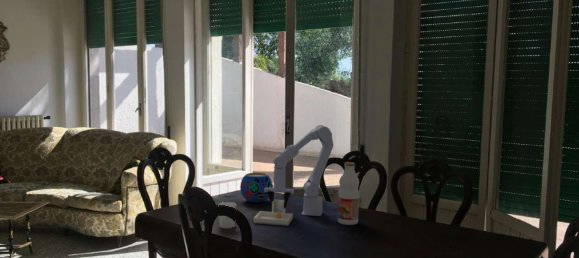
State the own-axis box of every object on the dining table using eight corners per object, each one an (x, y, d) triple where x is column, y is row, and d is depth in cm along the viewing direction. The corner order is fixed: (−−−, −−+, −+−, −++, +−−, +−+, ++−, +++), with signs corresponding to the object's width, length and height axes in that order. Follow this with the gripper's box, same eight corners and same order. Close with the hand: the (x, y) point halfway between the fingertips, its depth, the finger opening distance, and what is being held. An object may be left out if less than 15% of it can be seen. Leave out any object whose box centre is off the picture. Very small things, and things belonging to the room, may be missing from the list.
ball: (280, 212, 215) (278, 218, 214) (283, 214, 217) (282, 220, 216) (275, 211, 216) (273, 218, 215) (278, 213, 219) (276, 220, 218)
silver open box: (285, 212, 230) (285, 200, 230) (283, 214, 225) (283, 202, 224) (274, 211, 231) (274, 199, 231) (271, 213, 226) (272, 201, 225)
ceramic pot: (248, 207, 241) (248, 178, 240) (235, 199, 256) (235, 172, 255) (278, 203, 249) (278, 176, 248) (263, 196, 265) (264, 170, 264)
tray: (292, 218, 220) (292, 213, 220) (288, 225, 209) (288, 220, 208) (259, 216, 223) (259, 211, 223) (253, 223, 211) (253, 217, 211)
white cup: (237, 224, 209) (238, 202, 209) (234, 229, 202) (234, 206, 201) (220, 223, 210) (220, 201, 209) (216, 228, 202) (216, 205, 202)
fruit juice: (360, 225, 213) (363, 164, 210) (341, 225, 211) (343, 164, 209) (354, 219, 222) (356, 161, 220) (335, 219, 220) (337, 161, 218)
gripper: (263, 180, 224) (262, 208, 225) (292, 182, 222) (292, 210, 223) (266, 177, 231) (265, 204, 232) (295, 179, 229) (294, 206, 230)
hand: (278, 207), depth 228 cm, fingers closed on silver open box, 6 cm apart
